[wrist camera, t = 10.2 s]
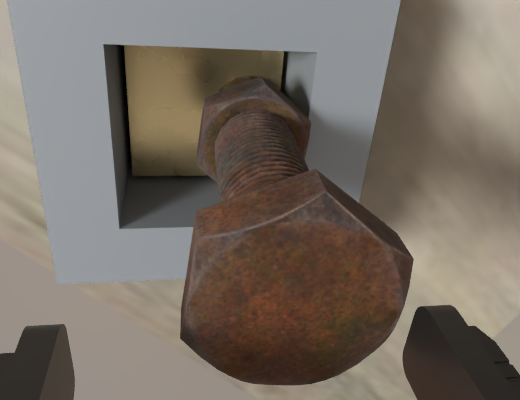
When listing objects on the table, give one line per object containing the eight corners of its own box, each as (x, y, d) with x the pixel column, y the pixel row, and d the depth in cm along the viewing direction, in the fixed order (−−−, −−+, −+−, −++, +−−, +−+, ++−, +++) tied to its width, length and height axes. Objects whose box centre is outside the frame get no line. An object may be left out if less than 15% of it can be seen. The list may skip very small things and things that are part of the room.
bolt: (319, 102, 24) (459, 298, 11) (254, 173, 26) (312, 418, 13) (230, 25, 22) (278, 158, 9) (164, 108, 24) (124, 324, 11)
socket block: (353, -41, 23) (406, -28, 18) (315, 210, 30) (344, 271, 25) (40, -64, 20) (-4, -56, 15) (78, 215, 27) (57, 284, 22)
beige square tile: (279, 28, 24) (285, 35, 23) (267, 163, 28) (272, 175, 26) (125, 21, 23) (122, 28, 21) (134, 163, 26) (132, 176, 25)
